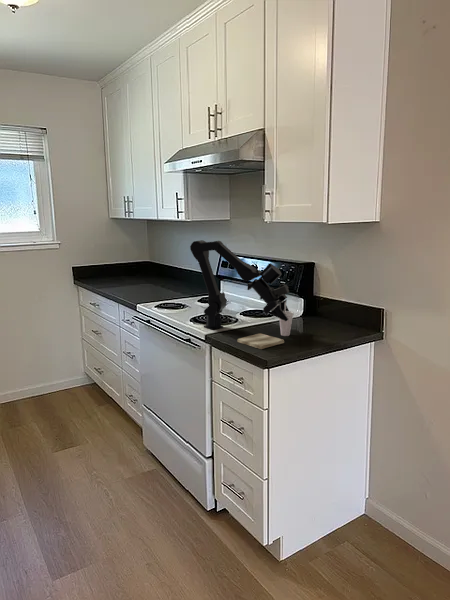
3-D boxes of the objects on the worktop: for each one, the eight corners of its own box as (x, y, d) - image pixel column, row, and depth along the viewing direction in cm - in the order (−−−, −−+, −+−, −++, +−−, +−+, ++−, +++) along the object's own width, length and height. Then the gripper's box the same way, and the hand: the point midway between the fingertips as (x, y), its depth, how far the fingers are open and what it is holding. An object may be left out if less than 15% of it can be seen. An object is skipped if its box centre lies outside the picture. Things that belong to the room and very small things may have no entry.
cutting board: (237, 341, 181) (237, 338, 180) (260, 336, 189) (260, 333, 189) (261, 349, 171) (261, 346, 171) (283, 342, 180) (283, 339, 179)
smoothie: (274, 334, 192) (275, 301, 190) (286, 332, 196) (287, 300, 193) (283, 337, 187) (284, 304, 184) (296, 335, 190) (297, 302, 188)
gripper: (271, 281, 180) (298, 311, 178) (283, 275, 197) (307, 302, 195) (252, 299, 184) (278, 328, 182) (265, 292, 201) (288, 318, 199)
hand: (289, 318), depth 190 cm, fingers closed on smoothie, 6 cm apart
